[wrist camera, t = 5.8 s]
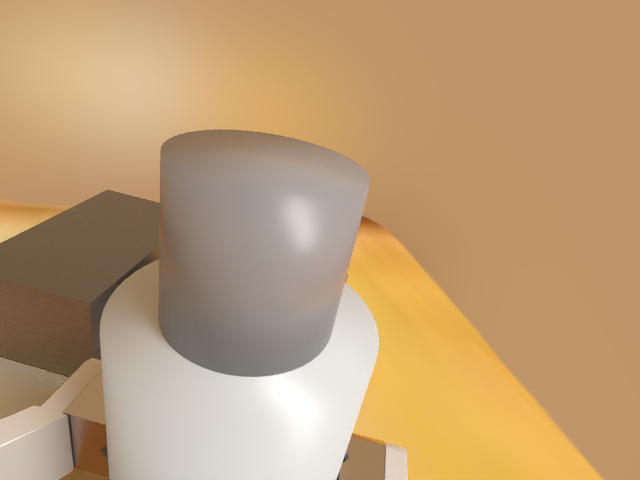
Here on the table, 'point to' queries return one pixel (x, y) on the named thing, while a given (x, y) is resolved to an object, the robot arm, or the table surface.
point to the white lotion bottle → (241, 317)
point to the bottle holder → (71, 278)
